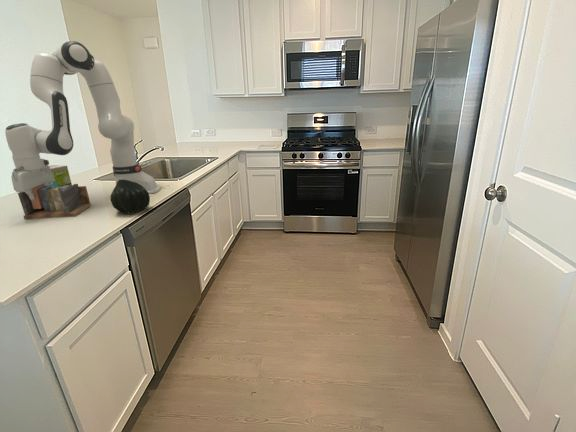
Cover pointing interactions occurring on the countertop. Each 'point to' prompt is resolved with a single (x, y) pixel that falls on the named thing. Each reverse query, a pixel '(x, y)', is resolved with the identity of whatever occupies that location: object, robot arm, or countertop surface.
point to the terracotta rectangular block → (37, 198)
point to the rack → (57, 202)
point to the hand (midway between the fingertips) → (38, 196)
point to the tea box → (59, 176)
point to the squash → (129, 197)
